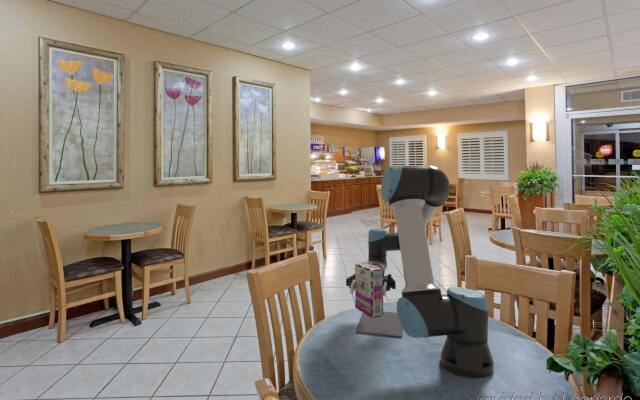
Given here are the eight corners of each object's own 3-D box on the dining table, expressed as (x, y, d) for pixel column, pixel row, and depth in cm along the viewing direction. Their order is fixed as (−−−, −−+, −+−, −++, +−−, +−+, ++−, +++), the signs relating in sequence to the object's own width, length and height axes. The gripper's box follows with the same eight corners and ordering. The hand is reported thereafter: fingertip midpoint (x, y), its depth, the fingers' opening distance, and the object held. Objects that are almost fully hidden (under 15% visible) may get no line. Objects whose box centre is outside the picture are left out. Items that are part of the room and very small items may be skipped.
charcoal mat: (404, 314, 151) (404, 313, 151) (402, 337, 130) (402, 336, 130) (363, 311, 156) (363, 310, 156) (355, 333, 135) (355, 331, 135)
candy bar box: (384, 316, 122) (384, 268, 120) (371, 319, 120) (371, 270, 118) (366, 305, 132) (366, 261, 131) (354, 307, 130) (354, 262, 128)
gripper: (404, 283, 141) (402, 304, 120) (346, 279, 147) (334, 299, 125) (404, 264, 140) (402, 282, 119) (346, 261, 146) (334, 278, 125)
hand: (367, 290), depth 122 cm, fingers closed on candy bar box, 10 cm apart
